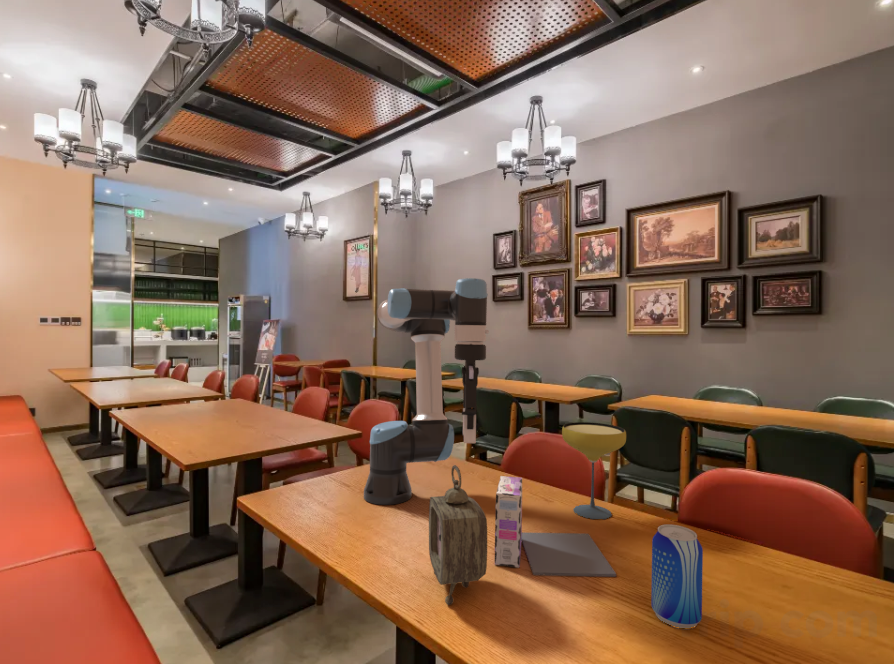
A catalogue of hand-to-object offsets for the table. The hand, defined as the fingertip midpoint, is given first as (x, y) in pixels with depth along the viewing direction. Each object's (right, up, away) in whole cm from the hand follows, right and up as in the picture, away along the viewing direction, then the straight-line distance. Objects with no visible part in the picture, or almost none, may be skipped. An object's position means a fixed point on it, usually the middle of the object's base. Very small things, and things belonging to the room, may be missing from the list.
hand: (468, 438), depth 109 cm
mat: (+23, -28, 0) cm, 36 cm away
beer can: (+37, -28, -24) cm, 53 cm away
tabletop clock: (-3, -27, -16) cm, 32 cm away
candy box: (+9, -28, 0) cm, 29 cm away
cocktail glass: (+38, -28, +26) cm, 54 cm away
